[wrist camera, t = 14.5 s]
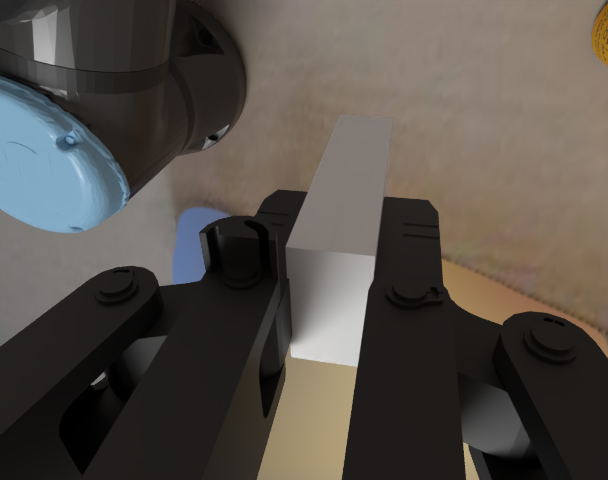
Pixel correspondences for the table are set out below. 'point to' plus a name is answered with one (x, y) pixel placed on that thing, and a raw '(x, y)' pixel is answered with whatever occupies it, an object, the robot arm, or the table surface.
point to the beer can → (601, 36)
